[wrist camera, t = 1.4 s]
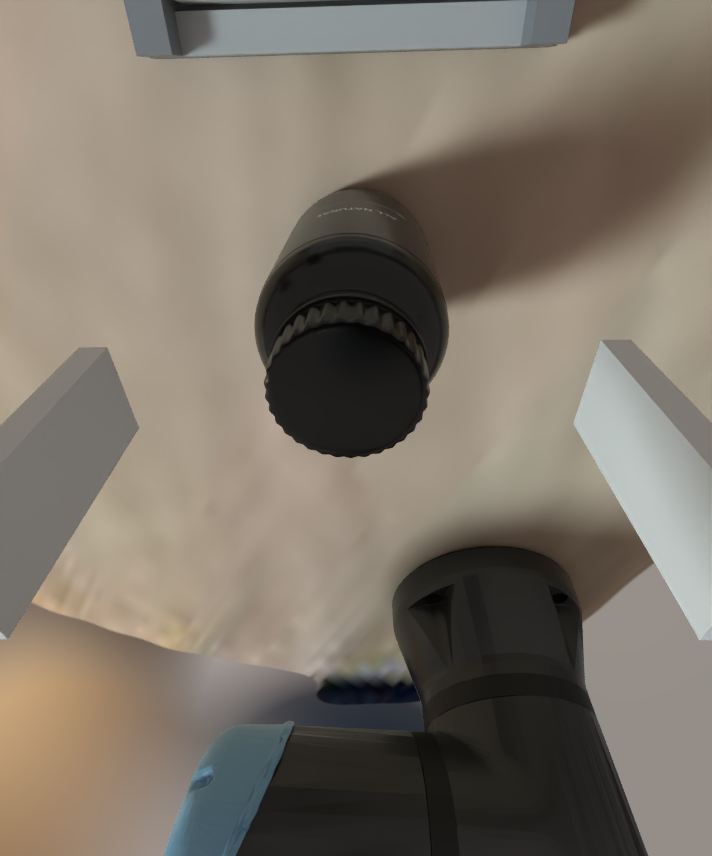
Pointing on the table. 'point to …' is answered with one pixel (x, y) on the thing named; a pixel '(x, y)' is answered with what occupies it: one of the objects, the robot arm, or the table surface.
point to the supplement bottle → (351, 326)
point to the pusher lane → (343, 26)
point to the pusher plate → (237, 1)
